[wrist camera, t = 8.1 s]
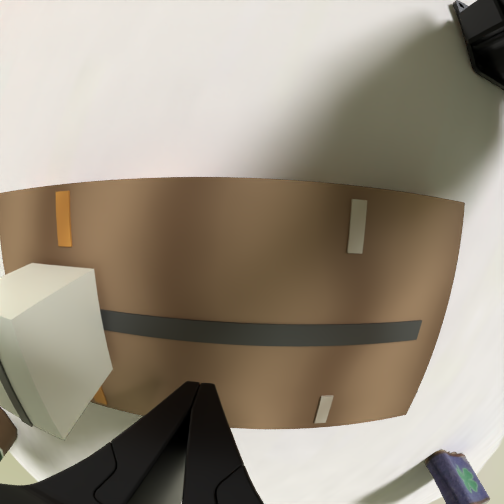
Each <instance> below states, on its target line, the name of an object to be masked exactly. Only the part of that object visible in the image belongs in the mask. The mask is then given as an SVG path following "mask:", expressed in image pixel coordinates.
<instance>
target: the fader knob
mask: <svg viewBox="0 0 504 504" xmlns="http://www.w3.org/2000/svg"><path fill="white" fill-rule="evenodd" d="M112 370H113V367H112V364H111V360H110V356H109V351H108V347H107V343H106V338H105V334H104V329H103V324H102V318H101V313H100V307H99V301H98V295H97V288H96V281H95V273H94V269H91V268H79V267H68V266H57V265H47V264H37V263H31V264H28V265H26V266H24V267H22V268H19V269H17V270H15V271H13V272H11V273H8V274H6V275H4V276H2V277H0V406H1V407H3V408H4V409H6V410H7V411H9V412H11V413H12V414H14V415H16V416H17V417H19V418H21V420H22V422H24V423H26V424H28V425H30V426H31V427H32V426H35V427H37V428H39V429H41V430H43V431H45V432H47V433H49V434H51V435H53V436H55V437H58V438H60V439H62V440H65V439H66V437H67V435H68V434H69V432H70V431H71V429H72V428H73V426H74V425H75V423H76V422H77V420H78V419H79V417H80V416H81V414H82V413H83V411H84V410H85V408H86V407H87V405H88V404H89V403H90V401H91V400H92V398H93V397H94V395H95V394H96V392H97V391H98V390H99V388H100V387H101V385H102V384H103V382H104V381H105V380H106V378H107V377H108V375H109V374H110V373H111V371H112Z"/></svg>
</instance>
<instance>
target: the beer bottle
mask: <svg viewBox="0 0 504 504" xmlns="http://www.w3.org/2000/svg"><path fill="white" fill-rule="evenodd" d="M16 438H17V428H16V427H15V426H14V424H13V423H12V422H11V420H10V419H9V417H8V416H7V414H6V413H5V412H4V411H3V410H2V409H1V408H0V461H1V460H2V458H3V457H4V456H5V454H6V453H7V451H8V450H9V449H10V447H11V446H12V444H13V443H14V441H15V440H16Z"/></svg>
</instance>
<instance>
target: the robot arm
mask: <svg viewBox="0 0 504 504" xmlns="http://www.w3.org/2000/svg"><path fill="white" fill-rule="evenodd" d="M453 5H454V7H455V10H456V13H457V15H458V18H459V21H460V24H461V27H462V30H463V34H464V37H465V40H466V44H467V48H468V51H469V55H470V59H471V64H472V67H473V69H474V71H475V72H476V73H477V74H479V75H481V76H482V77H484V78H486V79H488V80H489V81H491V82H493V83H494V84H496V85H497V86H499V87H501V88H502V89H504V0H477V1H476V2H474V3H473V4H472V5H470V6H467V5H466V4H464V3H462V2H460V1H458V0H456V1H455V2H454V3H453ZM181 501H182V504H264V503H263V501H262V500H261V498H260V496H259V495H258V493H257V491H256V489H255V487H254V485H253V483H252V481H251V479H250V477H249V475H248V472H247V470H246V468H245V466H244V463H243V461H242V458H241V456H240V453H239V450H238V448H237V445H236V443H235V440H234V437H233V435H232V432H231V429H230V427H229V424H228V421H227V418H226V415H225V413H224V410H223V407H222V404H221V401H220V398H219V395H218V392H217V389H216V386H215V384H213V383H201V384H200V383H199V382H194V381H186V382H185V383H183V384H182V385H181V386H180V387H179V388H177V389H176V390H175V391H174V392H173V393H171V394H170V395H169V396H168V397H167V398H165V399H164V400H163V401H162V402H160V403H159V404H158V405H157V406H156V407H154V408H153V409H152V410H151V411H149V412H148V413H147V414H146V415H144V416H143V417H142V418H141V419H139V420H138V421H137V422H135V423H134V424H133V425H132V426H130V427H129V428H128V429H126V430H125V431H124V432H122V433H121V434H120V435H118V436H117V437H116V438H115V439H113V440H112V441H111V443H110V442H109V443H108V444H106V445H105V446H104V447H102V448H101V449H99V450H98V451H96V452H95V453H93V454H92V455H90V456H89V457H87V458H86V459H84V460H82V461H80V462H79V463H77V464H75V465H73V466H71V467H69V468H67V469H65V470H63V471H61V472H59V473H57V474H55V475H53V476H51V477H49V478H47V479H44V480H42V481H40V482H37V483H34V484H30V485H21V486H19V485H18V486H17V485H8V484H0V504H181Z"/></svg>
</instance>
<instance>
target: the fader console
mask: <svg viewBox="0 0 504 504" xmlns="http://www.w3.org/2000/svg"><path fill="white" fill-rule="evenodd" d="M464 206H465V203H463V202H459V201H453V200H448V199H443V198H437V197H432V196H426V195H420V194H414V193H407V192H401V191H394V190H386V189H379V188H371V187H363V186H354V185H344V184H334V183H323V182H311V181H297V180H281V179H261V178H230V177H170V178H140V179H120V180H105V181H92V182H81V183H70V184H61V185H52V186H44V187H37V188H29V189H23V190H16V191H10V192H4V193H0V241H1V250H2V257H3V264H4V270H5V275H6V274H8V273H11V272H13V271H15V270H17V269H19V268H22V267H24V266H26V265H28V264H31V263H37V264H47V265H57V266H68V267H79V268H91V269H94V273H95V281H96V288H97V295H98V301H99V307H100V313H101V318H102V324H103V329H104V334H105V338H106V343H107V347H108V351H109V356H110V360H111V364H112V367H113V370H112V371H111V373H110V374H109V375H108V377H107V378H106V380H105V381H104V382H103V384H102V385H101V387H100V388H99V390H98V391H97V392H96V394H95V395H94V397H93V398H92V400H91V401H90V402H92V403H95V404H99V405H102V406H106V407H109V408H113V409H117V410H121V411H125V412H129V413H133V414H138V415H142V416H144V415H146V414H147V413H148V412H149V411H151V410H152V409H153V408H154V407H156V406H157V405H158V404H159V403H160V402H162V401H163V400H164V399H165V398H167V397H168V396H169V395H170V394H171V393H173V392H174V391H175V390H176V389H177V388H179V387H180V386H181V385H182V384H183V383H185V382H186V381H194V382H199V383H200V384H201V383H213V384H215V386H216V389H217V392H218V395H219V398H220V401H221V404H222V407H223V410H224V413H225V415H226V418H227V421H228V424H229V427H230V428H246V429H300V428H318V427H330V426H340V425H349V424H356V423H363V422H370V421H376V420H382V419H387V418H392V417H397V416H402V415H406V413H407V411H408V409H409V407H410V405H411V403H412V401H413V399H414V397H415V395H416V393H417V390H418V388H419V386H420V383H421V381H422V379H423V376H424V374H425V371H426V369H427V366H428V364H429V361H430V359H431V356H432V353H433V350H434V348H435V345H436V342H437V339H438V336H439V333H440V329H441V326H442V323H443V320H444V316H445V313H446V309H447V305H448V301H449V297H450V293H451V289H452V285H453V280H454V276H455V271H456V265H457V260H458V254H459V248H460V241H461V234H462V226H463V217H464Z"/></svg>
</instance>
